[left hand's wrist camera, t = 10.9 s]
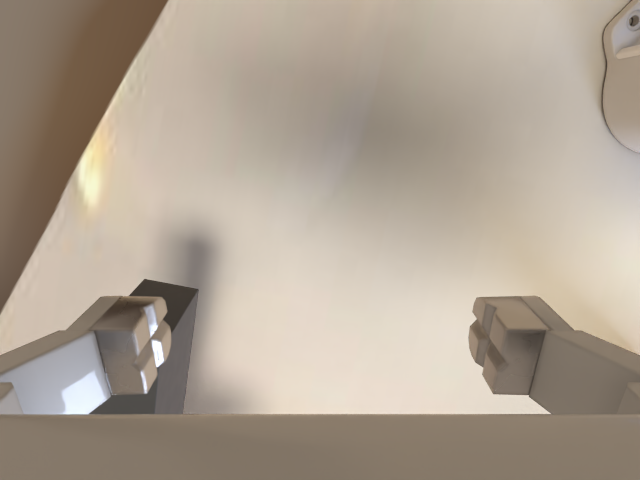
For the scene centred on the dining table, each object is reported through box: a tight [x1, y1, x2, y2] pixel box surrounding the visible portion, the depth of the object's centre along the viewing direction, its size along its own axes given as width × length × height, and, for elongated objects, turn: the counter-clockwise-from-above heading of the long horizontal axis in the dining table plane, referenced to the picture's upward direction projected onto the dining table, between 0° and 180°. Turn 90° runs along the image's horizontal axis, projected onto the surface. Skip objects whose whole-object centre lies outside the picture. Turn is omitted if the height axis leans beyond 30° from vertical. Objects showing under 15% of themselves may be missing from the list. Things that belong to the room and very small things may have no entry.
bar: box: [89, 279, 198, 414], centre depth 34 cm, size 27×5×9 cm, turn 167°
